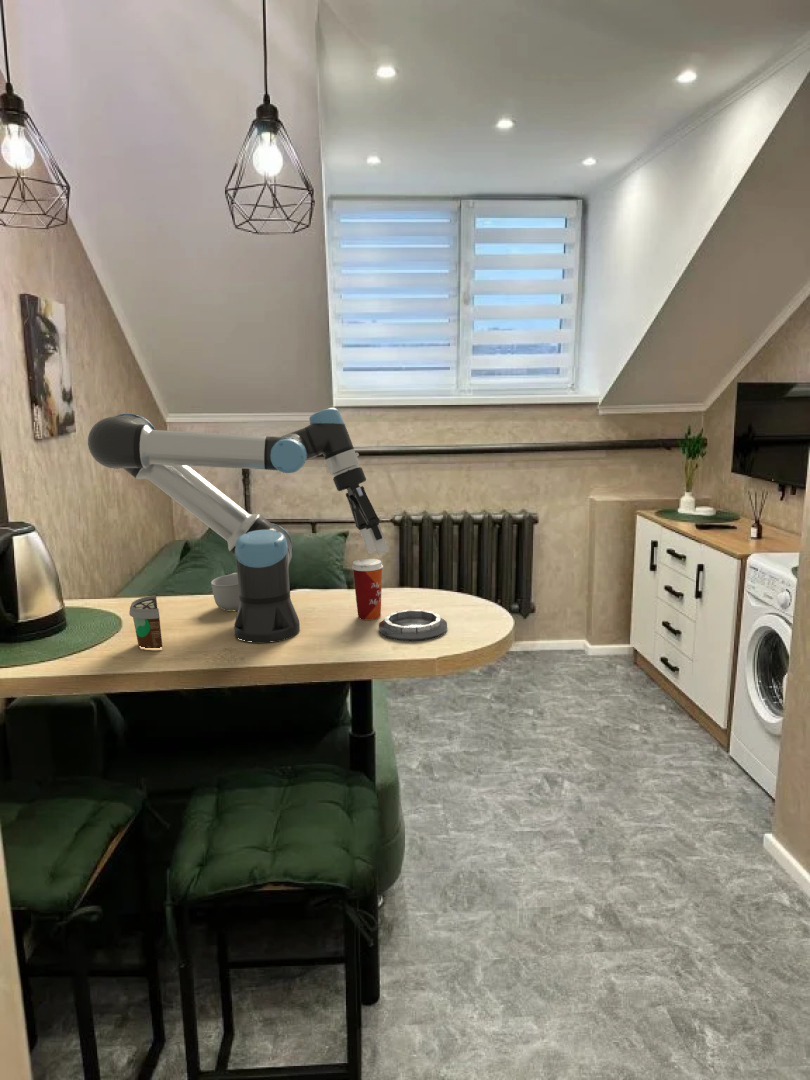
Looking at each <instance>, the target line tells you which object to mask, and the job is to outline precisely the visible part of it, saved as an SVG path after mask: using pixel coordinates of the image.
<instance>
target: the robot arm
mask: <svg viewBox="0 0 810 1080" xmlns="http://www.w3.org/2000/svg"><path fill="white" fill-rule="evenodd" d="M87 447H88V450H89V453H90V454H91V456H92V457H93V458H94V460H95V461H96V462H97V463H99V464H100V465H102V466H104V467H105V468H110V469H115V470H116V469H117V470H118V469H119V470H120V469H124V471H126V472H127V473H129V474H130V475H131V476H132V477H134V479H136V480H148V481H149V482H151V483H152V484H153V485H154V486H156V487H157V488H158V489H160V490H161V491H162V492H164V494H166V495H167V496H169V498H171V499H172V500H173V501H175V502H176V503H177V504H179V505H180V506H181V507H182V508H184V509H185V510H186V511H188V512H189V513H191V515H193V516H194V517H195V518H197V519H198V520H199V521H201V523H203V524H204V525H206V526H207V527H208V528H210V530H212V531H213V532H215V533H216V534H217V535H219V536H220V537H221V538H223V540H225V541H227V546H228V551H229V552H230V553H232V554H233V555H234V556H235V558H236V559H235V560H236V573H237V574H238V586H239V598H240V604H239V608H238V610H237V612H236V618H235V621H234V626H233V630H234V631H233V632H234V637H235V636H236V637H237V638H239V639H242V640H245V641H252V642H269V643H271V642H270V641H276V642H280V641H279V640H281V641H284V639H285V640H287V639H290V638H292V637H295V636H296V635H297V634H299V633H300V631H301V629H300V628H301V626H300V619H299V617H298V614H297V612H296V609H295V607H294V605H293V602H292V600H291V590H290V589H291V588H290V574H289V573H290V572H289V570H290V569H289V566H290V563H291V561H292V559H293V556H294V543H293V540H292V538H291V535H290V534H289V532H288V531H287V530H286V529H285V528H283V527H282V526H280V525H278V524H277V523H276V524H275V523H272V522H270V521H269V520H267V519H266V518H265V517H264V516H263V515H261V514H260V513H249V512H248V511H246V510H245V509H244V508H242V506H240V505H239V504H238V503H236V502H235V501H234V500H232V499H231V498H230V497H229V496H228V495H226V494H225V493H224V492H222V491H221V490H219V489H218V487H216V486H215V485H213V484H212V483H211V482H210V481H208V480H207V479H206V478H205V477H203V476H202V475H201V474H200V473H198V472H197V471H196V470H195V469H193V468H192V467H204V468H207V467H208V468H227V469H246V470H248V469H249V470H264V471H265V470H267V471H279V472H282V473H284V474H292V473H293V474H294V473H296V472H298V471H299V470H300V469H302V468H303V467H304V465H305V463H306V461H308V460H310V459H314V458H315V457H319V456H321V455H323V457H324V461H325V463H326V465H327V468H328V471H329V473H330V475H331V476H333V478H332V481H333V483H334V485H335V488H336V490H337V492H342V491H344V490H346V491H347V492H346V493H345V497H346V499H347V502H348V503H349V504H348V505H349V508H350V511H351V514H352V518H353V520H354V523H355V527H356V528H357V529H358V531H359V533H360V536H361V538H362V542H363V544H364V546H365V548H366V551H367V553H368V555H371V554H374V553H376V552H377V555H378V556H380V555H382V554H385V553H387V552H389V551H390V548H389V547H388V544H387V541H386V538H385V536H384V534H383V531H382V529H381V526H380V518H379V517H378V515H377V513H376V511H375V508H374V507H373V504H372V503H371V501H370V499H369V497H368V495H367V492H366V490H365V487H364V486H363V485H361V486H360V484H362V483H365V482H366V481H367V477H366V474H365V471H364V470H363V468H362V467H361V466H360V464H361V463H360V460H359V459H358V457H359V456H360V454H359V452H356V450H355V448H354V445H353V442H352V439H351V437H350V435H349V431H348V429H347V427H346V424H345V421H344V419H343V418H342V415H341V412H340V411H339V410H338V408H336V407H329V408H325V409H321V410H319V411H317V412H315V413H313V414H311V415H310V416H309V425H306V426H305V427H303V428H299V429H298V430H297V429H296V430H295V431H292V432H289V433H286V434H285V435H284V434H283V435H282V436H265V435H249V434H248V435H247V434H231V433H214V432H197V431H182V430H181V431H179V430H161V429H156V428H155V427H154V424H152V423H151V422H150V421H149V420H148V419H146V417H143V416H141V415H137V414H134V413H122V414H117V415H115V416H109V417H105V418H102V419H100V420H98V421H97V422H96V423H95V424H93V426H92V427H91V428H90V431H89V434H88V435H87ZM236 637H235V638H236ZM237 638H236V639H237Z"/></svg>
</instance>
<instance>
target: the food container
mask: <svg viewBox="0 0 810 1080" xmlns="http://www.w3.org/2000/svg"><path fill="white" fill-rule="evenodd" d="M128 614H129V616H130V617H132V618H133V619H132V620H133V623H134V625H133V626H134V629H135V634H136V639H137V645H139V646H141V647H145V648H160V647H163V640H162V631H161V630H162V629H161V621H160V620H161V619H160V609H159V608H158V601H157V595H156V594H153V595H147V596H143V597H140V598H138V599H135V600H134V601H132V602H131V603H130V606H129V613H128ZM139 646H138V647H139Z"/></svg>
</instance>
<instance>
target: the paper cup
mask: <svg viewBox="0 0 810 1080" xmlns="http://www.w3.org/2000/svg"><path fill="white" fill-rule="evenodd" d="M383 568H384V565H383V564H382V561H381V559H377V558H362V559H356V560H354V561H353V563H352V566H351V569H352V572H353V573H352V574H353V579H354V582H353V583H354V590H355V591H354V592H355V601H356V608H357V609H356V611H357V616H358V619H360V620H362V621H372V620H377V619H379V618H381V615H382V613H381V612H382V585H383V584H382V583H383V582H382V580H383V579H382V578H383V576H382V574H383Z"/></svg>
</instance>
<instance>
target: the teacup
mask: <svg viewBox="0 0 810 1080" xmlns="http://www.w3.org/2000/svg"><path fill="white" fill-rule="evenodd" d="M210 584H211V587H212V594H213V599H214V602H215V604H216V605H217V606H218V608H220V609H222V610H223V609H225V610H224V611H226V610H237V609H238V608H239V604H240V598H239V586H238V574H237V572H232V573H231V574H225V575H222V576H218V577H216V578H214V579H212V580H211V582H210ZM237 611H238V610H237Z"/></svg>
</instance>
